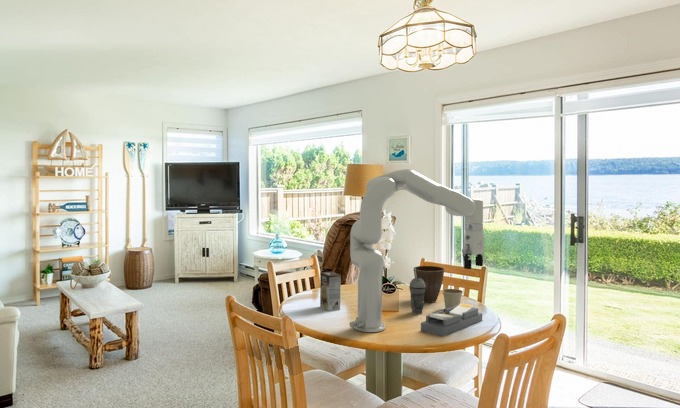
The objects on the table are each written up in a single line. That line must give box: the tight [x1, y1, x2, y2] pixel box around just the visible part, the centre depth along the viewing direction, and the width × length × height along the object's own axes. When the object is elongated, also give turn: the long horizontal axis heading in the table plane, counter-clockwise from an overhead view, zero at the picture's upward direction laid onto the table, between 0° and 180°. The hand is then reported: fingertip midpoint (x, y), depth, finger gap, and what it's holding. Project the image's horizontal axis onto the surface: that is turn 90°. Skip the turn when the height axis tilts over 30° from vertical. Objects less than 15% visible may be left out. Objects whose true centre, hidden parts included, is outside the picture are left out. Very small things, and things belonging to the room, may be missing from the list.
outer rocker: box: [449, 302, 476, 318], centre depth 189 cm, size 10×6×1 cm, turn 135°
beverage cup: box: [408, 267, 426, 315], centre depth 203 cm, size 7×7×20 cm
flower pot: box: [441, 288, 464, 309], centre depth 208 cm, size 9×9×9 cm
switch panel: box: [420, 305, 483, 337], centre depth 184 cm, size 30×10×5 cm, turn 135°
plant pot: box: [412, 265, 445, 303], centre depth 225 cm, size 15×15×16 cm
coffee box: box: [319, 271, 342, 312], centre depth 209 cm, size 9×6×16 cm
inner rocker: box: [429, 313, 453, 320], centre depth 179 cm, size 10×6×1 cm, turn 135°
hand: (473, 267), depth 195 cm, fingers open, 9 cm apart
